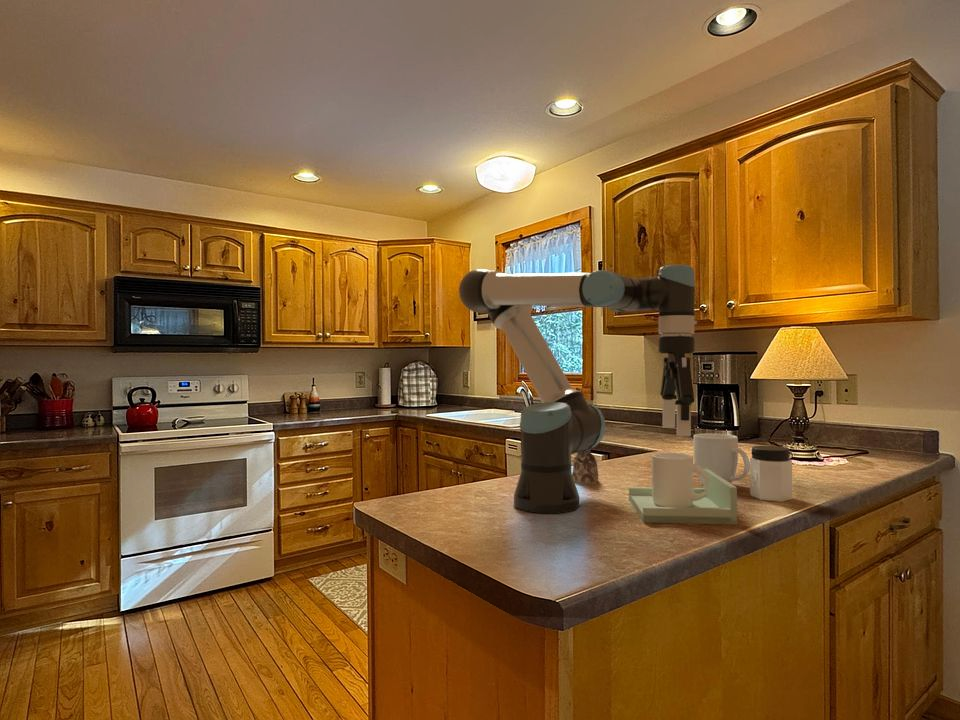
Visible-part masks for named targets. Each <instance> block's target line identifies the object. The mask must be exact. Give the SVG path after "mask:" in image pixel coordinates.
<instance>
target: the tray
mask: <svg viewBox="0 0 960 720" xmlns="http://www.w3.org/2000/svg"><path fill="white" fill-rule="evenodd" d="M703 471H704V472H705V474H706V475H707V478H708V491H707V494H706V495H705V497H704V498H702V499H701V500H698V501H693V504H692V506H690V507H662V506H658V505H656V504H655V503H654V502H653V495H652V486H649V487H648V486H646V487H643V486H642V487H641V486H638V487H637V486H629V487H628V499H629V500H628V501H629V502H630V503H631V505H632V506H633V508H634V510H635V511H636V512H637V514H638V516H639V517H640V519H641V520H642V522H643V523H645V524H653V523H654V524H685V525H686V524H689V525H691V524H693V525H694V524H695V525H697V524H698V525H706V524H707V525H738V488H737V486H735V485H734V484H732V483H729V482H727V481H726V480H724V479H723V478H721V477H720V476H718V475H716V474H715V473H713V472H712V471H710V470H709V469H703ZM705 489H706V481H705V479H704V478H703V483H702V487H693V492H695V493H697V494H701V493H703V492H704V491H705Z"/></svg>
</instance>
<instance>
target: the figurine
mask: <svg viewBox="0 0 960 720" xmlns="http://www.w3.org/2000/svg"><path fill="white" fill-rule="evenodd" d="M572 476H573V479H574V482H575V484H579V485H580V484H581V485H594V484H597V483H598V482H599V471H598V462H597V459H596V457H595V455H594V454H592V448H591V449H589V450H588V451H585V452H578V453H576V455H574V458H573V465H572Z"/></svg>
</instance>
